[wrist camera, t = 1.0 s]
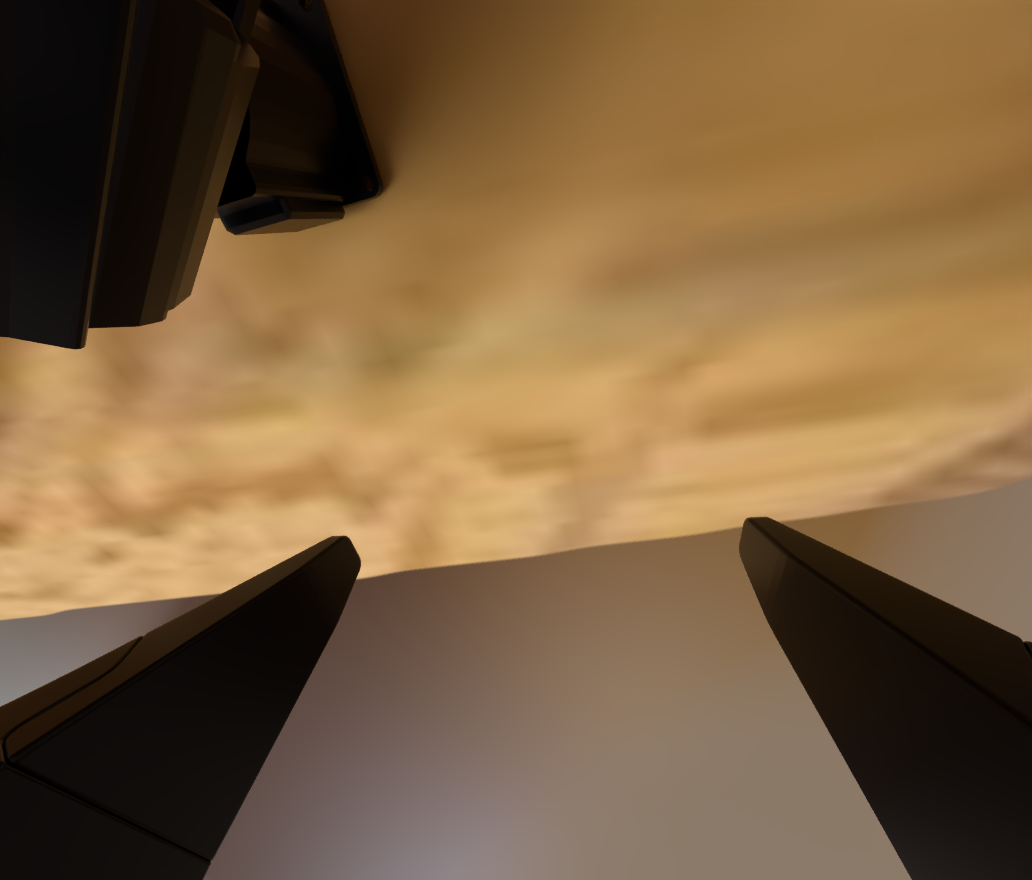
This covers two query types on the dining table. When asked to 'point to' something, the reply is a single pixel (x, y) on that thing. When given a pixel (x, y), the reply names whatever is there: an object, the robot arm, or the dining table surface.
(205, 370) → the dining table surface
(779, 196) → the dining table surface
